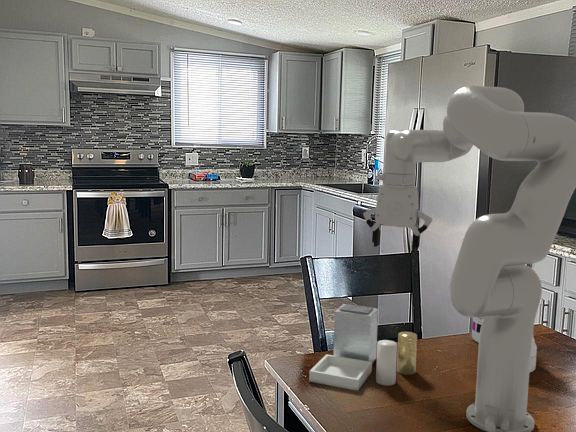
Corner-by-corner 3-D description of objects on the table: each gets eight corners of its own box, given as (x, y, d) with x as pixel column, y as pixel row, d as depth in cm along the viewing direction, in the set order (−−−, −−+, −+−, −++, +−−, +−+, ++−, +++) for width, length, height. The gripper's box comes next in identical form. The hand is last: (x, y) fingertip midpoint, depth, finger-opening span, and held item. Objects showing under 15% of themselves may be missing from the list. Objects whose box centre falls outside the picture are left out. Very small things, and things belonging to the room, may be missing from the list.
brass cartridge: (413, 376, 135) (415, 338, 134) (394, 372, 137) (396, 336, 135) (417, 369, 139) (418, 333, 138) (398, 366, 141) (400, 330, 139)
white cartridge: (392, 386, 129) (394, 348, 127) (373, 383, 130) (375, 344, 129) (397, 379, 133) (399, 341, 132) (378, 376, 134) (380, 338, 133)
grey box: (368, 368, 139) (370, 314, 137) (333, 362, 142) (334, 309, 140) (376, 358, 145) (378, 306, 144) (342, 352, 149) (344, 302, 147)
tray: (357, 390, 126) (358, 379, 126) (309, 381, 131) (309, 370, 130) (371, 372, 137) (371, 362, 136) (326, 364, 141) (326, 354, 141)
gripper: (361, 179, 143) (357, 246, 146) (431, 184, 136) (426, 255, 138) (369, 177, 150) (366, 241, 152) (437, 181, 142) (432, 249, 145)
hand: (395, 248), depth 145 cm, fingers open, 9 cm apart
